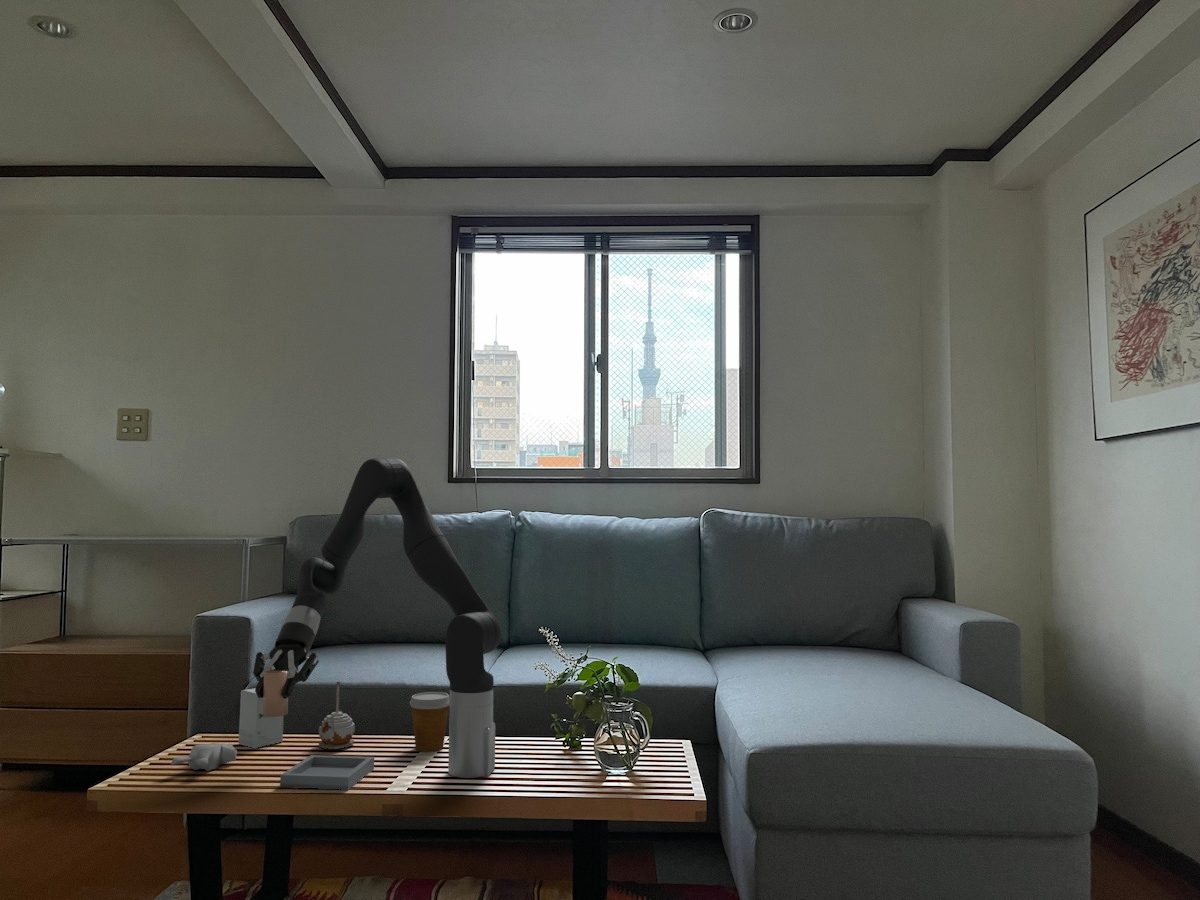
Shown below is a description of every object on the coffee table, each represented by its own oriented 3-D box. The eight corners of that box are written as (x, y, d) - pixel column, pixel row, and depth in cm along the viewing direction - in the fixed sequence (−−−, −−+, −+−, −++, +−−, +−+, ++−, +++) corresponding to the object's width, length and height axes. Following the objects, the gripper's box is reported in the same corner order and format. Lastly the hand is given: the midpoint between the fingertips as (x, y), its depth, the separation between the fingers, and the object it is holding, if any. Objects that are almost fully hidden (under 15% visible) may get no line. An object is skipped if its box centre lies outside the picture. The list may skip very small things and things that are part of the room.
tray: (373, 769, 178) (374, 757, 178) (348, 790, 164) (348, 777, 165) (310, 767, 180) (311, 755, 180) (280, 787, 166) (280, 774, 166)
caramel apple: (317, 744, 198) (319, 679, 199) (351, 741, 201) (352, 677, 202) (320, 752, 191) (322, 685, 192) (355, 749, 194) (357, 683, 195)
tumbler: (291, 711, 180) (293, 668, 181) (280, 717, 175) (282, 673, 176) (269, 711, 181) (271, 668, 182) (258, 716, 176) (259, 672, 177)
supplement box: (254, 749, 193) (256, 693, 194) (237, 744, 198) (239, 689, 199) (283, 742, 199) (285, 688, 200) (266, 737, 203) (268, 684, 204)
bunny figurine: (247, 740, 186) (209, 750, 171) (245, 764, 185) (206, 777, 170) (207, 739, 187) (166, 749, 172) (205, 763, 186) (163, 775, 171)
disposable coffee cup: (453, 751, 192) (454, 698, 193) (412, 755, 188) (413, 701, 189) (445, 741, 201) (446, 690, 202) (405, 745, 197) (406, 693, 198)
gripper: (263, 620, 188) (233, 685, 175) (324, 620, 186) (298, 686, 174) (273, 640, 193) (245, 705, 180) (333, 641, 191) (309, 706, 178)
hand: (271, 695), depth 177 cm, fingers closed on tumbler, 5 cm apart
